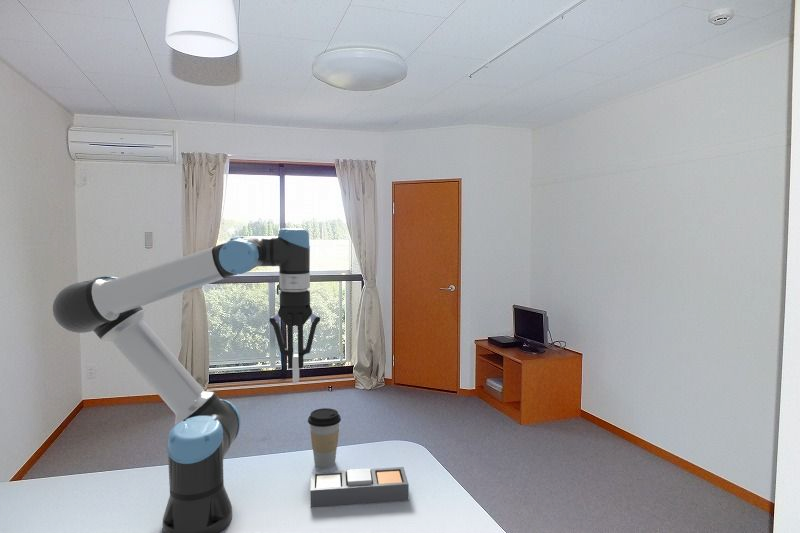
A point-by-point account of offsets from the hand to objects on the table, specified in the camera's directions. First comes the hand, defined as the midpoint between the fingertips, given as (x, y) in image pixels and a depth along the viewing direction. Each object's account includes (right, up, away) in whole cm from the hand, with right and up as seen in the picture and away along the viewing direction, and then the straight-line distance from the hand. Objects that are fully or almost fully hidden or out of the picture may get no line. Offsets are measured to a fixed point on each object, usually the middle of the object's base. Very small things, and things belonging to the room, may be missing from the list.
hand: (296, 380), depth 129 cm
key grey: (+16, -26, 0) cm, 31 cm away
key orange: (+24, -27, +1) cm, 36 cm away
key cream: (+9, -28, -1) cm, 29 cm away
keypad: (+16, -30, 0) cm, 34 cm away
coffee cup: (+5, -28, +17) cm, 33 cm away
